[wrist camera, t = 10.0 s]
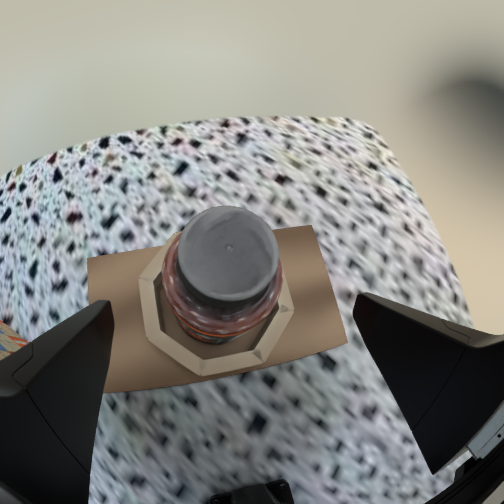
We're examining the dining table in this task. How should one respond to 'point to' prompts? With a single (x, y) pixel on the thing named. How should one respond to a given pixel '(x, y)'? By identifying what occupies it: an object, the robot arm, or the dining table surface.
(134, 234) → the dining table surface
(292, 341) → the collar board
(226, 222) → the supplement bottle
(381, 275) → the dining table surface
